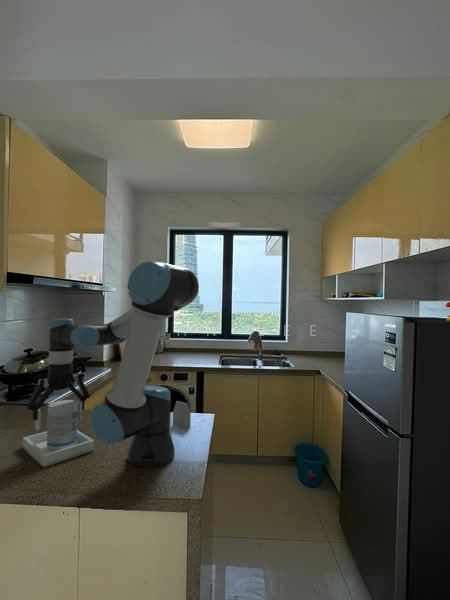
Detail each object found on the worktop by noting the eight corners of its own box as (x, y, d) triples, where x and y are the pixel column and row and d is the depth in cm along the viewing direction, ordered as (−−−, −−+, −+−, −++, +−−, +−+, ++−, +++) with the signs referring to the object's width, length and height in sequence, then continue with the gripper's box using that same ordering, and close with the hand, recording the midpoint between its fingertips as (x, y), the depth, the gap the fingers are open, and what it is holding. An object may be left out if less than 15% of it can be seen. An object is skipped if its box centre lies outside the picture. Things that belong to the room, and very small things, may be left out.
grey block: (184, 429, 130) (184, 405, 130) (172, 425, 134) (173, 402, 134) (190, 427, 133) (190, 403, 133) (178, 423, 137) (179, 400, 137)
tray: (93, 450, 109) (94, 440, 109) (43, 467, 97) (43, 455, 97) (69, 434, 122) (69, 425, 122) (22, 447, 110) (22, 437, 110)
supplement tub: (79, 447, 109) (80, 404, 110) (47, 454, 104) (49, 409, 104) (74, 438, 117) (75, 398, 118) (45, 443, 112) (46, 401, 112)
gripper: (90, 357, 122) (89, 413, 122) (16, 365, 104) (14, 431, 103) (100, 359, 117) (99, 417, 117) (23, 368, 99) (21, 437, 98)
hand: (59, 424), depth 110 cm, fingers open, 13 cm apart
